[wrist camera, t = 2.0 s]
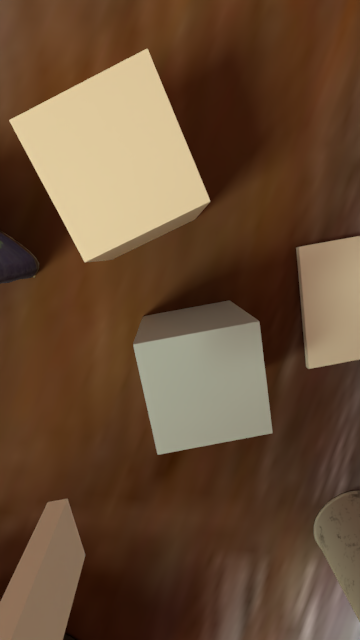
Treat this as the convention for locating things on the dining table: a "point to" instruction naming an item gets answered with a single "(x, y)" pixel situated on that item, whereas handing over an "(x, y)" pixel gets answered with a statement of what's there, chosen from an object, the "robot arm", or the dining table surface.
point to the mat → (330, 301)
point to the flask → (15, 260)
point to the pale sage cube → (203, 376)
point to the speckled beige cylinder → (342, 542)
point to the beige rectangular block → (114, 160)
